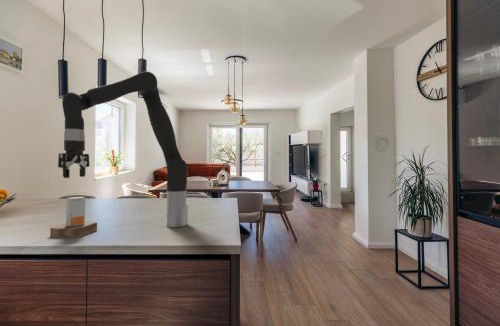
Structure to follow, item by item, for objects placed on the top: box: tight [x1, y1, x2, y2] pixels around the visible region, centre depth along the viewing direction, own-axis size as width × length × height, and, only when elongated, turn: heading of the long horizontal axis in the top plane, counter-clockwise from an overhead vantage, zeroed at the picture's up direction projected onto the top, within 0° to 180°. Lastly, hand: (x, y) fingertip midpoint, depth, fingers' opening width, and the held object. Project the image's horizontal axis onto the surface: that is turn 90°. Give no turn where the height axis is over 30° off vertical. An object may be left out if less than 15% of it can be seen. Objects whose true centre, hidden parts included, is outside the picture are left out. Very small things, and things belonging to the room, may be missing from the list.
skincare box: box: [65, 196, 86, 226], centre depth 115 cm, size 6×4×12 cm
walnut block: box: [49, 221, 98, 239], centre depth 114 cm, size 12×12×4 cm
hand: (74, 177), depth 114 cm, fingers open, 8 cm apart
